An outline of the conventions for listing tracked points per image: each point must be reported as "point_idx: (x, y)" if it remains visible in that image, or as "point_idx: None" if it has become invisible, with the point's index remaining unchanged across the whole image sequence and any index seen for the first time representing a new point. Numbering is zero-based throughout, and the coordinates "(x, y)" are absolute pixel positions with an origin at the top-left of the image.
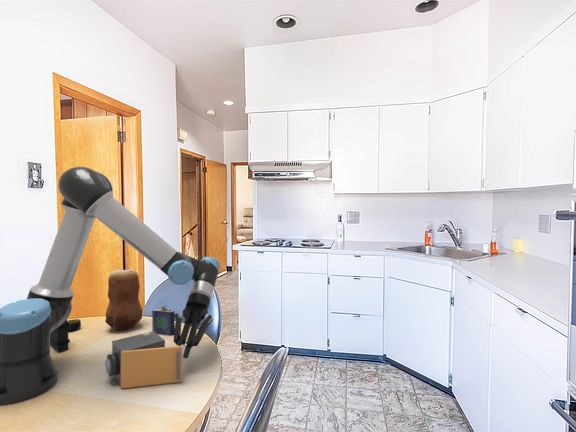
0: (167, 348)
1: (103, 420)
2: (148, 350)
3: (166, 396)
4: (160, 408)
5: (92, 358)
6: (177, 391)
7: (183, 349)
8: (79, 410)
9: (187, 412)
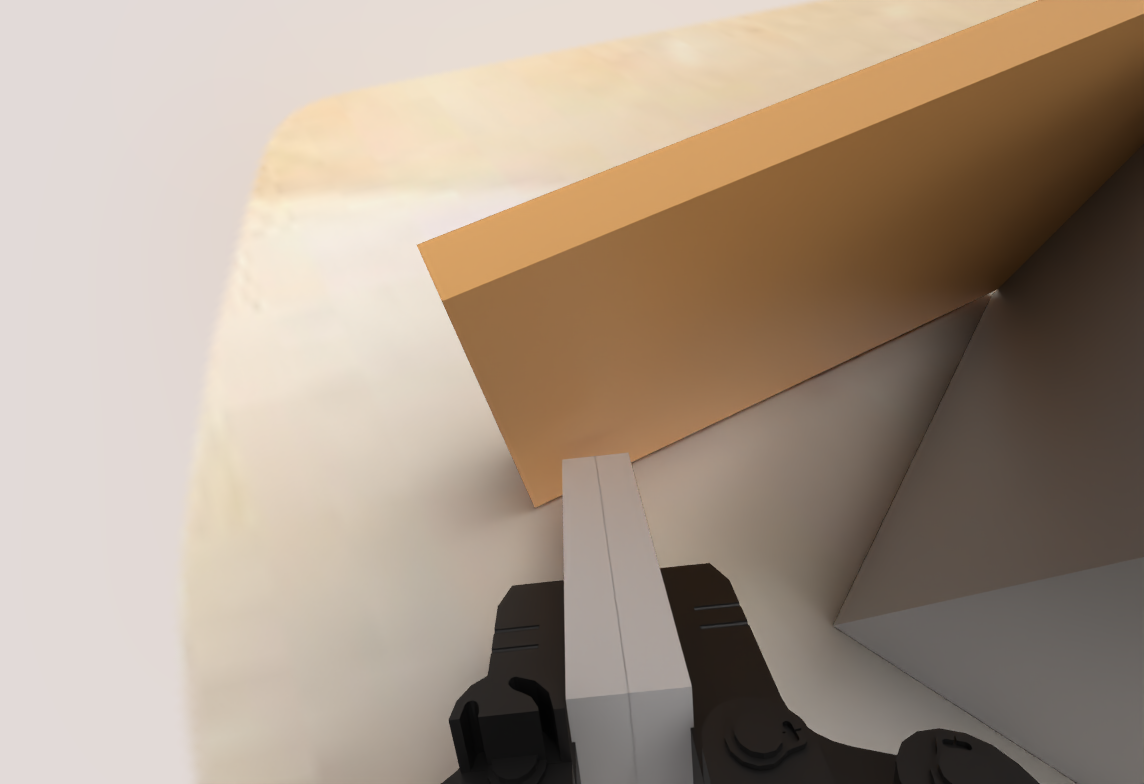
0: (677, 142)
1: (757, 49)
2: (963, 33)
3: None
4: (504, 180)
5: None
6: None
7: (580, 614)
8: None
9: (314, 188)
